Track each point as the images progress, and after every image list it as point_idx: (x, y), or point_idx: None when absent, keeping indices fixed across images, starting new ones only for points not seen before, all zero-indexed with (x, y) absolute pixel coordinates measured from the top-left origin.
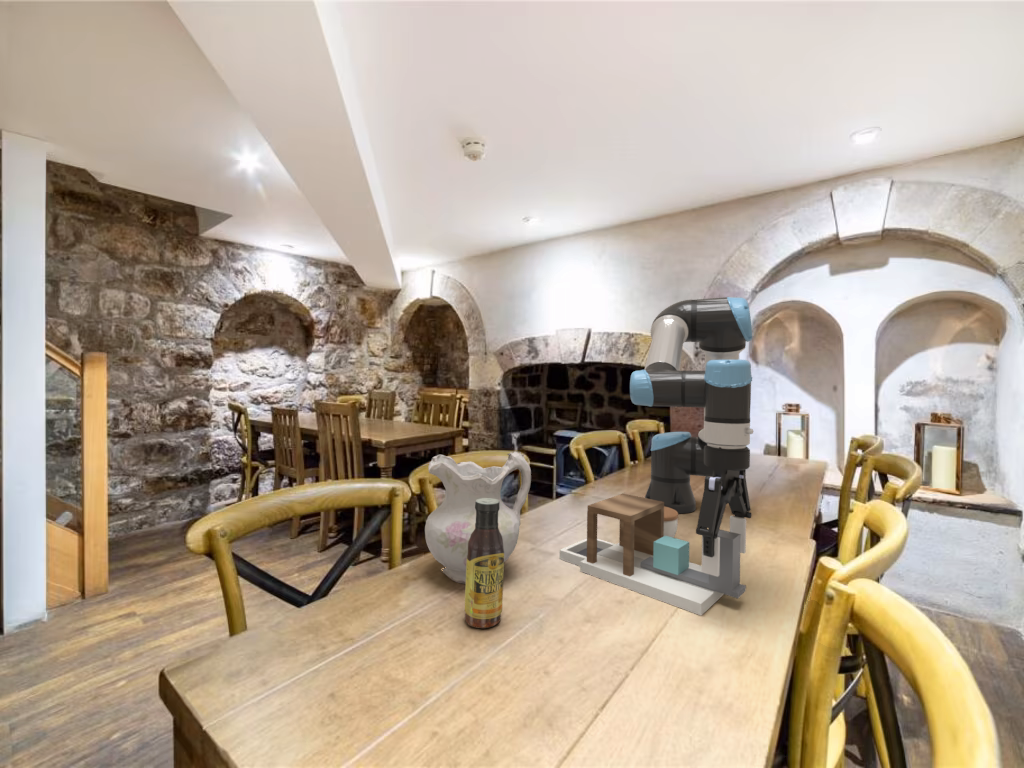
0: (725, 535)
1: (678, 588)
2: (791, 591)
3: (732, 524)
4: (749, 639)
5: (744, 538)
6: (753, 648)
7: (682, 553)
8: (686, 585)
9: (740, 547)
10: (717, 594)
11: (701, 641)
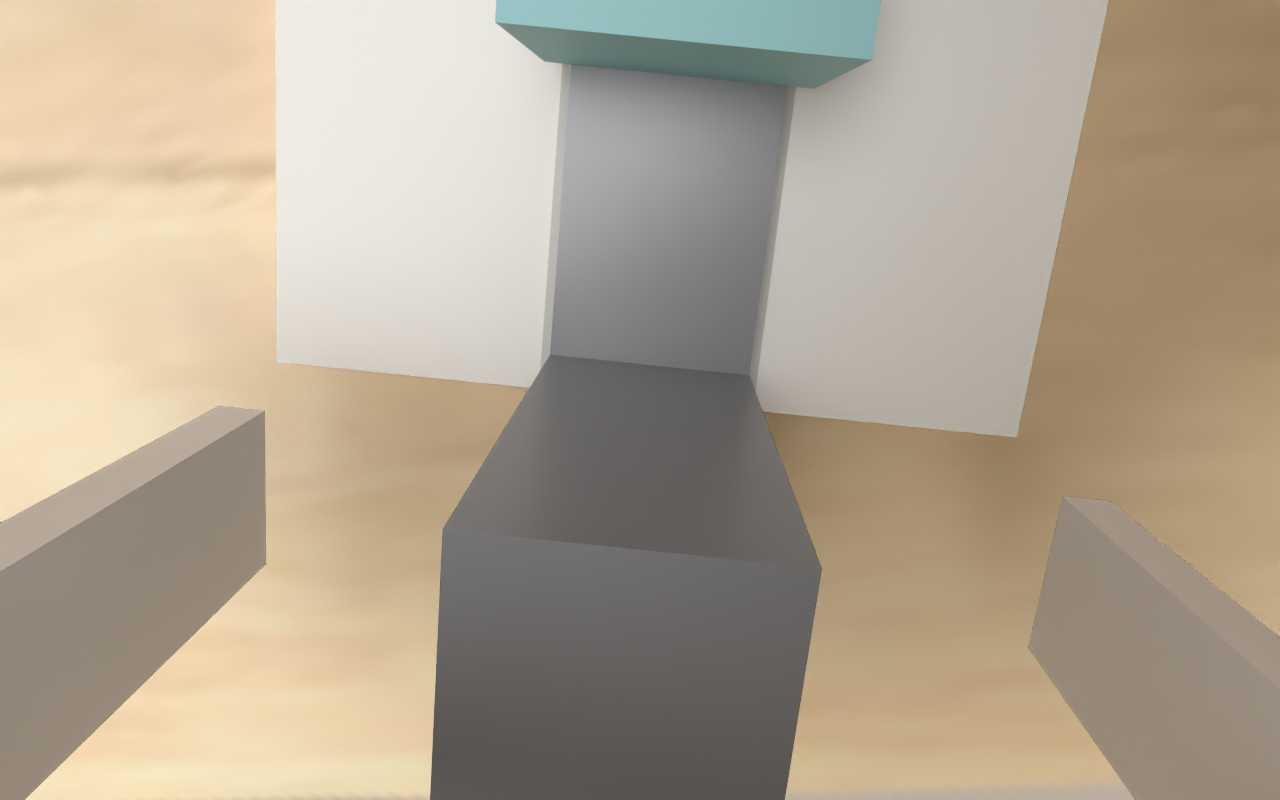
0: (553, 733)
1: (413, 123)
2: None
3: (1238, 706)
4: (244, 642)
5: (1108, 753)
6: (165, 674)
7: (636, 49)
8: (520, 162)
9: (1061, 639)
10: None
11: (7, 433)
